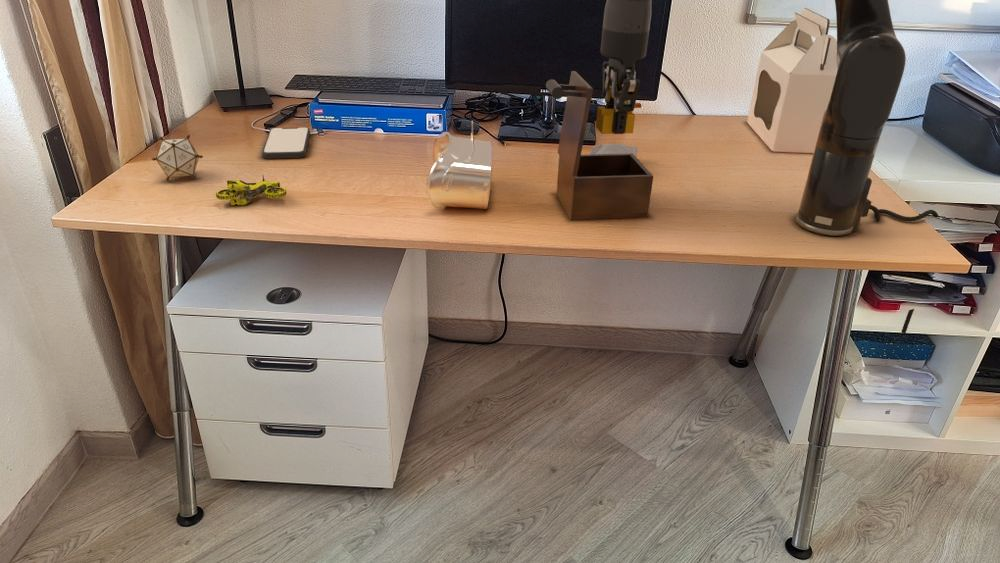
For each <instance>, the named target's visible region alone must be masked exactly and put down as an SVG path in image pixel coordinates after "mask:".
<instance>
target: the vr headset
mask: <svg viewBox="0 0 1000 563" xmlns="http://www.w3.org/2000/svg"><path fill="white" fill-rule="evenodd" d="M474 135H475V134H474V120H471V133H470V138H469V137H461V136H456V135H453V134H451V133H450V132H448V131H443V132H441V133H440V134H439V135H438V136H436V138H435V139H434V143H433V146H432V159H433V164H432V166H431V168H430V170H429V172H428V175H427V179H426V189H425V190H426V195H427V200H428V201H429V203H430V205H431V206H433V207H434V208H436V209H441V208H445V207H450V208H465V209H467V208H469V209H483V210H487V209H488V205H489V200H490V194H491V184H492V175H493V156H494V154H493V144H492V141H491V140H483V139H475V137H474Z"/></svg>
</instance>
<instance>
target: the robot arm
mask: <svg viewBox="0 0 1000 563" xmlns="http://www.w3.org/2000/svg"><path fill="white" fill-rule="evenodd" d="M652 1H653V0H606V2H605V6H604V11H603V22H602V30H601V42H600V55H602V57H604V58H606V59H608V61H603V62H602V93H601V95H602V97H603V98H604V103H605V108H606V109H614V114H613V124H612V132H613V133H614V135H624V134H626V133H625V129H626V121H627V112H632V113H633V112H634V110H635V108H634V106H635V103H637V98H638V95H639V91H640V86H641V79H640V78H636V77H637V76H636V75H637V74H636V73H637V72H636V69H635V68H636V67H635V65H636V64H635V63H636V62H637V61H638V60H643V59H645V57H646V56H647V51H648V43H649V35H650V29H651V20H652ZM834 4H835V5H834V6H835V15H836V16H835V17H836V18H835V20H836V41H837V55H836V63H837V68H838V70H837V74H836V78H835V82H834V86H833V90H832V93H831V97H830V101H829V104H828V106H827V109H826V110H825V112H824V115H823V118H822V122H821V127H820V130H819V134H818V138H817V142H816V146H815V150H814V153H812V158H811V162H810V165H809V170H808V172H807V177H806V181H805V185H804V189H803V192H802V196H801V200H800V204H799V208H798V211H797V213H796V217H795V222H796V224H797V225H798V226H800V227H801V228H803V229H805V230H807V231H809V232H812V233H815V234H817V235H818V234H819V235H824V236H831V237H834V236H835V237H840V236H841V237H842V236H847V235H849V234H852V232H857V231H858V229H859V226H860V222H861V219H862V218H867V217H868V215H869V212H870V210H871V211H872V212H873V214H874V219H875V221H880V220H881V215H880V214H882V215H887V216H890V217H892V218H894V219H897V220H899V221H901V222H902V221H903V222H916V221H920V220H923V219H924V218H925V217H926V218H927V216H929V215H931V216H933V218H939V214H938V212H937V211H936V210H934V209H928V210H925V211H923V212H922V213H920V214H918V215H915V216H904V215H901V214H899V213H896V212H894V211H892V210H889V209H885V208H879V209H878V208H877V207H876V206H875V205H872V200H870V199H868V196H869V194H870V191H871V190H870V189H871V186H872V183H873V180H872V179H871V177H869V175H870V171H871V168H872V165H873V162H874V158H875V155H876V151H877V148H878V145H879V141H880V138H881V135H882V132H883V129H884V126H885V124H886V123H887V121H888V120H889V117H890V115H891V113H892V110H893V106H894V103H895V101H896V97H897V94H898V92H899V88H900V86H901V82H902V79H903V76H904V72H905V67H906V64H907V63H906V60H907V58H906V57H907V56H906V51H905V48H904V46H903V45H902V43H901V42H900V40H899V39H898V38H897V35H896V33H895V32H896V31H895V29H894V24H893V21H892V16H891V9H890V4H889V0H834ZM624 101H625V104H624ZM914 311H915V308H912V309H908V312H907V315H906V317H905V320H904V322H903V326H902V328H901V333H902V334H906V333H907V330H908V328H909V324H910V322H911V319H912V316H913V314H914Z"/></svg>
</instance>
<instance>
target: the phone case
mask: <svg viewBox="0 0 1000 563" xmlns="http://www.w3.org/2000/svg"><path fill="white" fill-rule="evenodd" d="M310 137H311V129H310V128H309V127H306V126H304V127H303V126H300V127H299V126H298V127H272V128H271V129H269V131H268V134H267V136H266V140H265V143H264V145H263V149H262V151H261V155H262V158H263V159H265V160H276V159H277V160H278V159H279V160H280V159H282V160H283V159H302V158H304V157H306V155H307V150H308V145H309V141H310Z"/></svg>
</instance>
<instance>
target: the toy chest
mask: <svg viewBox="0 0 1000 563" xmlns="http://www.w3.org/2000/svg"><path fill="white" fill-rule="evenodd" d="M653 183H654V175H653V174H652V172H650V171H649V169H648V168H647V167H646V166H645V165H644V164H643V163H642V162H641V161H640V159H638V157H637V156H636V157H635V156H634V154H633V153H630V154H590V155H589V154H581V157H580V162H579V167H578V172H577V176H572V174H571V173H570V171H569V170H568V168H567V166H566V165H565V163H564V162H563V160H562V159H561V157H560V156H559V155H558V166H557V182H556V197H557V198H558V200H559V201H560V203H561V205H562V207H563V209H564V210H565V212H566V214H567V216H568V217H569V219H570V221H582V220H584V221H585V220H608V219H635V218H648V217H649V211H650V203H651V196H652V189H653Z"/></svg>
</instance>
